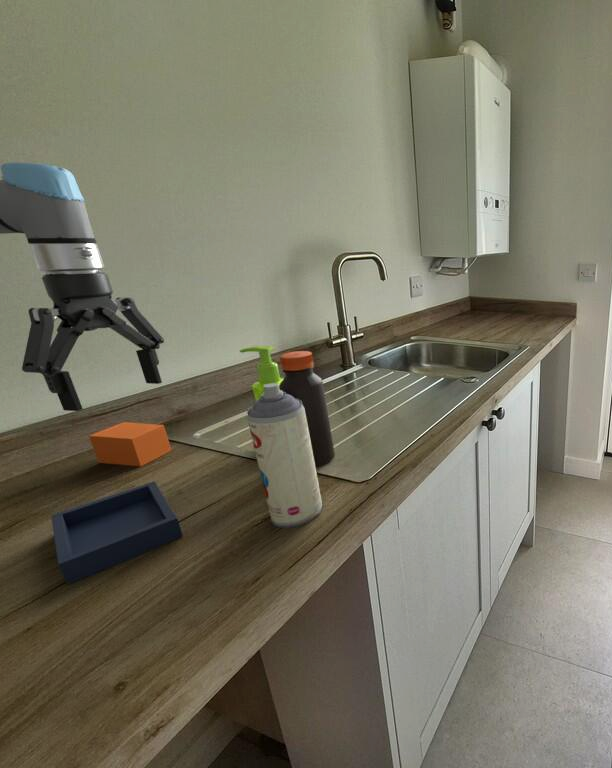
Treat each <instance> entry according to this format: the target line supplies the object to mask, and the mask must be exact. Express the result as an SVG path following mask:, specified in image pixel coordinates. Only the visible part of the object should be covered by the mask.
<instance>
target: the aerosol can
mask: <svg viewBox="0 0 612 768" xmlns="http://www.w3.org/2000/svg"><path fill="white" fill-rule="evenodd" d="M263 387H264V393H263V394H262V396H260V397H259V399H258V400H257V401H256V400H255V401H254V403H253V405H251V406H250V407H249V408H248V409H247V410H246V414H247V417H246V419H247V423H248V427H249V431H250V436H251V441H252V444H253V448H254V449H253V450H254V454H255V457H256V461H257V466H258V470H259V474H260V478H261V483H262V487H263V491H264V495H265V500H266V504H267V508H268V512H269V517H270V520H271V524H272V525H274V526H275V527H279V528H280V529H281V528H283V529H285V528H286V529H290V528H295V527H299V526H302V525H306V524H307V523H309V522H311V521H312V520H313V521H314V520H315V518H317V517H318V516H319V515H320V514H321V513H322V511H323V508H324V507H323V501H322V496H321V490H320V485H319V479H318V474H317V468H316V467H317V466H316V467H315V462H314V457H313V451H312V446H311V440H310V435H309V430H308V424H307V419H306V413H305V409H304V407H303V405H302V401H301V400H299V399H294V397H293V396H291V395H289V394H286V393H285V392H283V391H282V390H280V389H279V386H278V384H277V383H270V384H266V385H264V386H263Z"/></svg>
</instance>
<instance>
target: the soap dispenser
mask: <svg viewBox="0 0 612 768" xmlns="http://www.w3.org/2000/svg"><path fill="white" fill-rule="evenodd" d="M272 351H275V347H274V346H269V345H253V346H248V347H245V348H242V349H240V350H239V352H240V353H241V354H243V353H249V352H253V353H254V352H255V353H257V352H258V355H259V360H260V363H259V364H257V365H256V373H257V376H258V381H257V382H254V383H253V384H252V391H253V395H254V399H255V402H256V401H257V400H258V399H259V397H260V396H262V394H263V393H264V387H263V386H264V385H266V384H270V383H277V384H278V386H280V383H281V382H282V380H283V379H284V378H285V377H281V376H280V370H279V365H278V363H277V362H274V361H273V360H272V357H271V356H272V355H271V352H272Z"/></svg>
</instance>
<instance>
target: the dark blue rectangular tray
mask: <svg viewBox="0 0 612 768" xmlns="http://www.w3.org/2000/svg"><path fill="white" fill-rule="evenodd" d="M50 517H51V523H52V531H53V537H54V545H55V553H56V559H57V565H58V567H59V569H60V572H61V574H62V576H63V578H64V580H65V582H66V584H67V585H68V586H69V585H70V584H71V585H72V584H73V583H75V582H78V581H81V580H83V579H85V578H88V577H90V576H92V575H94V574H97V573H100V572H101V571H104V570H107V569H109V568H111V567H114V566H117V565H119V564H121V563H123V562H127V561H128V560H131V559H133V558H135V557H137V556H140V555H142V554H144V553H147V552H149V551H152V550H154V549H156V548H159V547H161V546H164V545H166V544H168V543H170V542H173V541H175V540H176V541H177V540H178V539H180V538H183V537H184V534H183V532H182V529H181V525H180V523H179V520H178V517H177V515H176V514H175V512H174V510H173V509H172V507H171V506H170V504H169V502H168V501H167V499H166V497H165V496H164V494H163V492H162V490H161V489H160V487H159V486H158V484H157V483H156V481H155V480H154V481H150V482H148V483H144V484H141V485H139V486H136V487H132V488H130V489H126V490H123V491H119V492H117V493H114V494H111V495H108V496H104V497H101V498H99V499H95V500H92V501H90V502H87V503H83V504H80V505H78V506H75V507H71V508H69V509H68V508H67V509H65V510H62V511H59V512H56V513H53V514H51V515H50Z"/></svg>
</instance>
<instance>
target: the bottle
mask: <svg viewBox="0 0 612 768" xmlns="http://www.w3.org/2000/svg"><path fill="white" fill-rule="evenodd" d="M279 360H280V361H279V362H280V366H281V369H282V373H284V376H285V377H283V378H284V379H283V380H282V382H281V383H280V386H279V389H280V390H282V391H283V392H285V393H286V394H289V395H291V396H293V397H294V399H299V400H301V401H302V405H303V407H304V409H305V413H306V419H307V424H308V430H309V435H310V440H311V446H312V451H313V457H314V462H315V467H320V466H323V465H326V464H327V463H329V462H330V461H332V460H333V459H334V457H335V448H334V443H333V442H334V441H333V436H332V431H331V430H332V429H331V423H330V418H329V412H328V407H327V406H328V405H327V400H326V393H325V387H324V382H323V379H322V378H321V377H320V376H319V375H318V374H316V373H314V368H315V364H314V363H315V362H314V358H313V352H312V351H307V350H298V351H297V350H295V351H290V352H285V353H282V354H281V355H280V356H279Z"/></svg>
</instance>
